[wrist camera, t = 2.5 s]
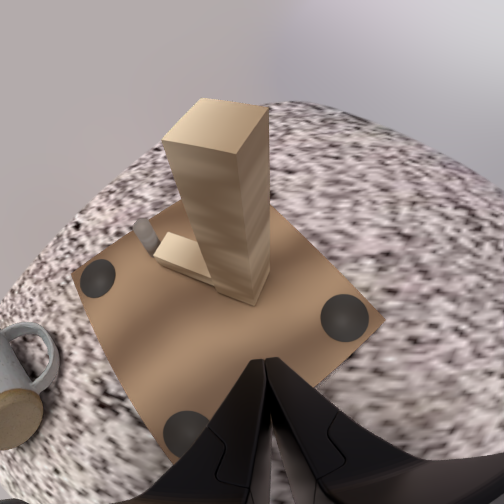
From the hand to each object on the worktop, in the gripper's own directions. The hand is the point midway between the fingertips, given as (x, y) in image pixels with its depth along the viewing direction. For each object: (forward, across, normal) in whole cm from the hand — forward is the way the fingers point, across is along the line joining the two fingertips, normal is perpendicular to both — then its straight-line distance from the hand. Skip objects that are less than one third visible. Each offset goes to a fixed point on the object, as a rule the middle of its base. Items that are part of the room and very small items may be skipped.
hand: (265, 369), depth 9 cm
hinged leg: (+12, +3, 0) cm, 12 cm away
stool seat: (+11, +3, +3) cm, 12 cm away
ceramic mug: (+8, +20, +7) cm, 22 cm away
